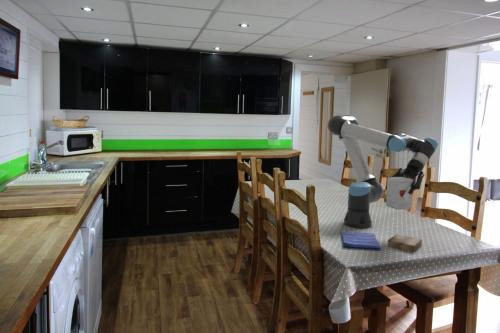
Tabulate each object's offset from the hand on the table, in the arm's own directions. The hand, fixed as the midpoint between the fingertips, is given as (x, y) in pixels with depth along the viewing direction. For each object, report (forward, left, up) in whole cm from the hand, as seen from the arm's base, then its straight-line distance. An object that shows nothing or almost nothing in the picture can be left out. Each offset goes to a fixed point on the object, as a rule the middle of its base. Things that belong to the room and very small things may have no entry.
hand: (395, 196), depth 193 cm
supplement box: (+1, +3, -6) cm, 7 cm away
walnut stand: (+9, -9, -21) cm, 25 cm away
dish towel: (-10, -17, -22) cm, 30 cm away
